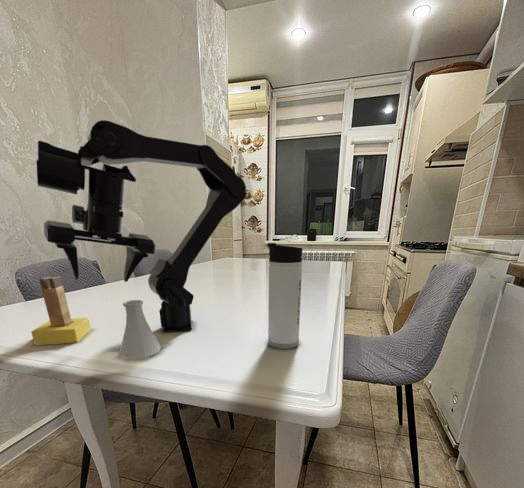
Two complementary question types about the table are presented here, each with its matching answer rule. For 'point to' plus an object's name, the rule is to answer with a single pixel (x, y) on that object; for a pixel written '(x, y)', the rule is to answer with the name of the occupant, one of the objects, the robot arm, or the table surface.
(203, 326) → the table surface
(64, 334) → the holder
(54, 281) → the peg
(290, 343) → the travel mug
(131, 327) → the flask
